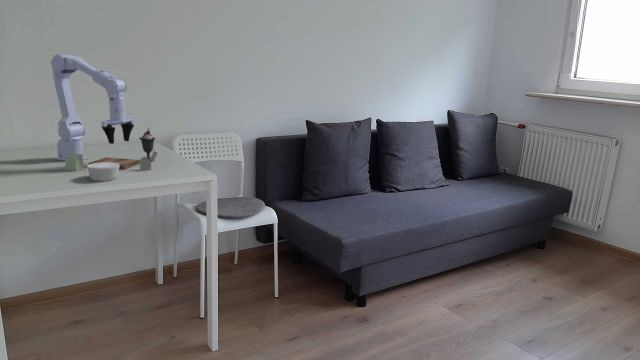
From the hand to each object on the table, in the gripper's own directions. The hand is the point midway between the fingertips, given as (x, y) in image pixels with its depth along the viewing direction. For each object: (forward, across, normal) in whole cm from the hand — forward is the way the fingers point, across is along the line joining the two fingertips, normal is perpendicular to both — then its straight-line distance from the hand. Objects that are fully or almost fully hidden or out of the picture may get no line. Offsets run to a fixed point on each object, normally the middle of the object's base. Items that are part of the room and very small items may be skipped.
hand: (119, 142), depth 207 cm
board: (+10, -1, +2) cm, 10 cm away
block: (+10, -16, +8) cm, 20 cm away
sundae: (+10, +14, -2) cm, 17 cm away
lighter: (+10, +2, -15) cm, 18 cm away
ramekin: (+10, -18, -12) cm, 24 cm away
